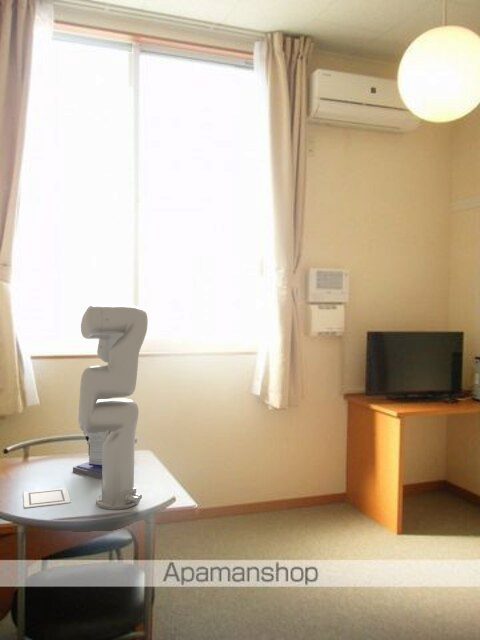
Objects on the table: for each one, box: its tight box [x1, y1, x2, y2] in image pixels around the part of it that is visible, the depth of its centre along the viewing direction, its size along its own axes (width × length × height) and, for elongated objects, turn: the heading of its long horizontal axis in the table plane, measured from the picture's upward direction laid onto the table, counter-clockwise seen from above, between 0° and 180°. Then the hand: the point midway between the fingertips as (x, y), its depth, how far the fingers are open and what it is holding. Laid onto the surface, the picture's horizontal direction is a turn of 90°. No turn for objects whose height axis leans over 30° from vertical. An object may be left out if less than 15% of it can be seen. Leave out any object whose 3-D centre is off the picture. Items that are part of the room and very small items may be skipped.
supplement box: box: [88, 433, 104, 467], centre depth 192 cm, size 6×6×12 cm
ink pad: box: [72, 461, 102, 480], centre depth 193 cm, size 14×12×2 cm
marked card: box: [23, 487, 71, 509], centre depth 166 cm, size 13×13×1 cm
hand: (100, 456), depth 192 cm, fingers closed on supplement box, 7 cm apart
